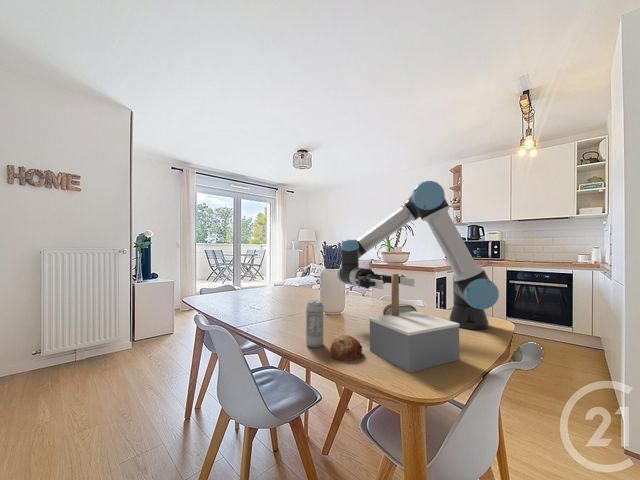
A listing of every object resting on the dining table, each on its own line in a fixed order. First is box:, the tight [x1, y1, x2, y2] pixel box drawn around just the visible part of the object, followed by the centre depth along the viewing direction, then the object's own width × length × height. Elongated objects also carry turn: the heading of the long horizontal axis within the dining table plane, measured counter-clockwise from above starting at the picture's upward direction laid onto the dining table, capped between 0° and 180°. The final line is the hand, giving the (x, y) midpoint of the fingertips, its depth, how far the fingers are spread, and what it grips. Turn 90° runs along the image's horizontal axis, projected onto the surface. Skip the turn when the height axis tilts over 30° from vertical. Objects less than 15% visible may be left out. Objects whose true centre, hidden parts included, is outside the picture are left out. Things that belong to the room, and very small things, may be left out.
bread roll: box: [329, 334, 363, 361], centre depth 89 cm, size 10×10×8 cm
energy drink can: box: [305, 300, 324, 348], centre depth 98 cm, size 6×6×15 cm
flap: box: [367, 273, 460, 336], centre depth 89 cm, size 20×18×15 cm
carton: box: [369, 320, 461, 374], centre depth 88 cm, size 20×18×10 cm
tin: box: [382, 303, 418, 316], centre depth 125 cm, size 15×3×8 cm, turn 84°
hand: (398, 283), depth 94 cm, fingers open, 13 cm apart
